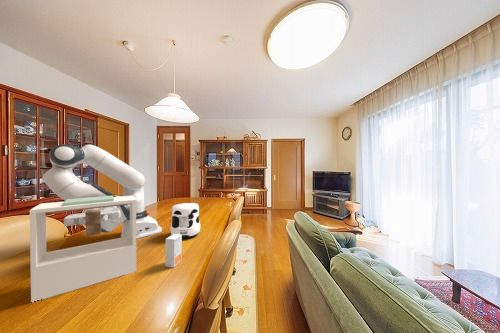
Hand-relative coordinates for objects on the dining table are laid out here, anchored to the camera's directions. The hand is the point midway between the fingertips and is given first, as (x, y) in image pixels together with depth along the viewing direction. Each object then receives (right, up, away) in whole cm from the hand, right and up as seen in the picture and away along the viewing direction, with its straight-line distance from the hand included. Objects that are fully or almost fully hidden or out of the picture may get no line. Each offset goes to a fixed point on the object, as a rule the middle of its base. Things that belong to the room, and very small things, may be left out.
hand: (93, 221), depth 82 cm
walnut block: (-1, -5, +1) cm, 6 cm away
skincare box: (+36, -19, 0) cm, 40 cm away
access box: (+8, -19, -10) cm, 23 cm away
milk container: (+29, -18, +33) cm, 48 cm away
